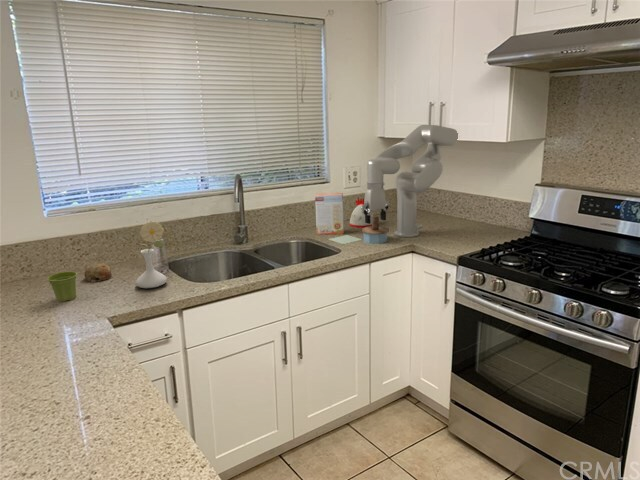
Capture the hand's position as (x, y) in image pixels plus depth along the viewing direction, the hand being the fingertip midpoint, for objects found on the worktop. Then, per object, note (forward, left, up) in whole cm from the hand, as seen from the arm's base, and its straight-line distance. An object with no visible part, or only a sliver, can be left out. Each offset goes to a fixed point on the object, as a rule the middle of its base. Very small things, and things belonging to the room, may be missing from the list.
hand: (375, 221), depth 229 cm
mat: (+10, -11, -10) cm, 18 cm away
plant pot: (+133, -15, -10) cm, 134 cm away
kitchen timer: (-16, -29, -10) cm, 34 cm away
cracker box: (+8, -26, -10) cm, 29 cm away
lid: (0, 0, -5) cm, 5 cm away
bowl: (0, 0, -10) cm, 10 cm away
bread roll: (+119, -32, -10) cm, 124 cm away
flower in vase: (+104, -8, -10) cm, 105 cm away
